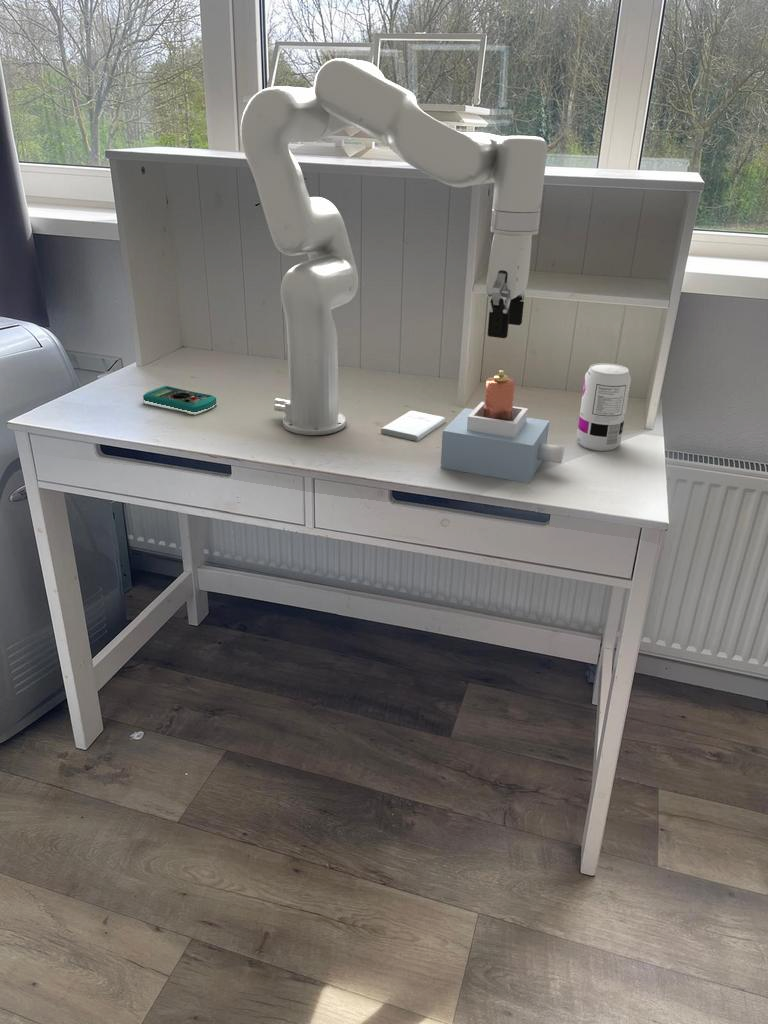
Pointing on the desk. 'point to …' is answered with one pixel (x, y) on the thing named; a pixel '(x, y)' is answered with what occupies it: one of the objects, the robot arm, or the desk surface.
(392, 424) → the external hard drive
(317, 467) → the desk surface
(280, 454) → the desk surface
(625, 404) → the supplement can
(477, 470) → the gearbox
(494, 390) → the orange gas canister
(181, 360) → the desk surface
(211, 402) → the digital multimeter
